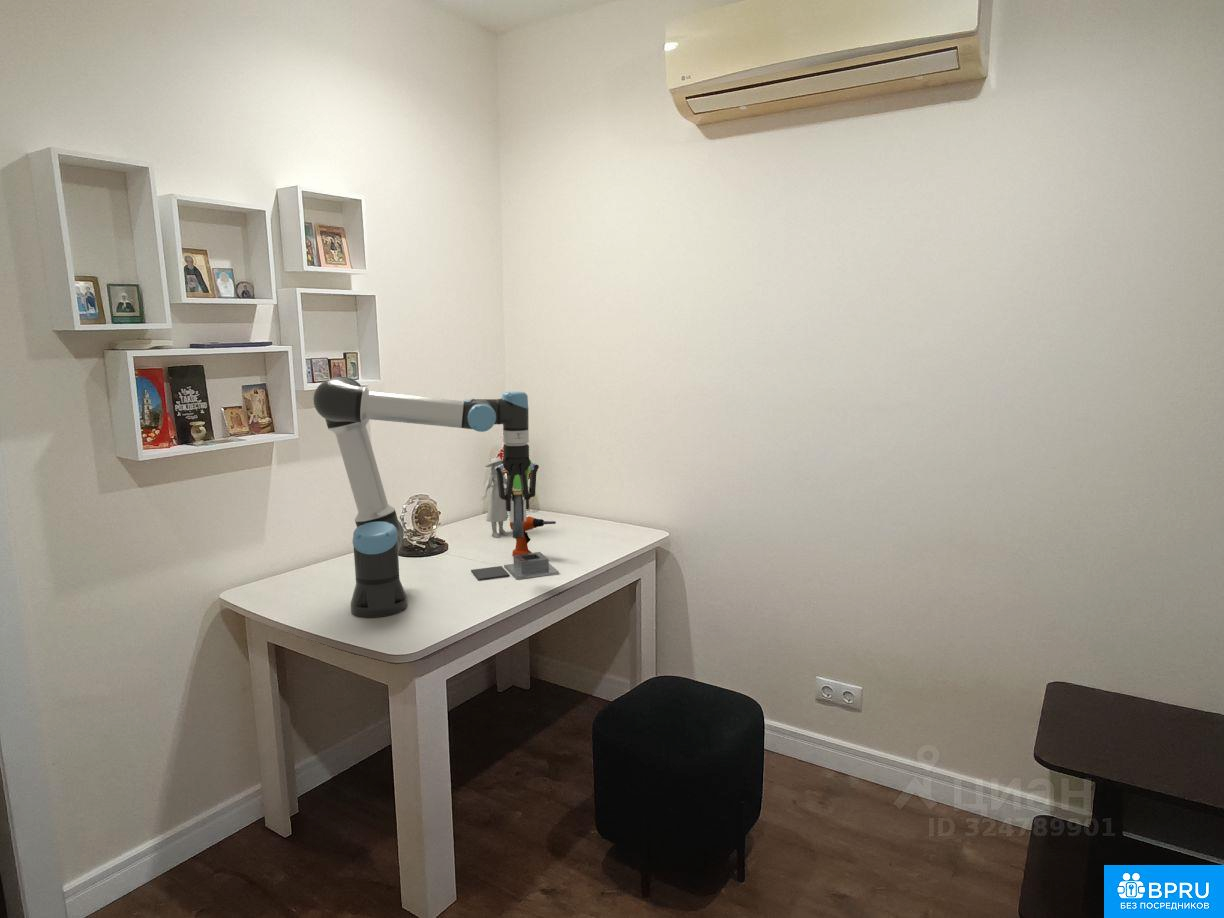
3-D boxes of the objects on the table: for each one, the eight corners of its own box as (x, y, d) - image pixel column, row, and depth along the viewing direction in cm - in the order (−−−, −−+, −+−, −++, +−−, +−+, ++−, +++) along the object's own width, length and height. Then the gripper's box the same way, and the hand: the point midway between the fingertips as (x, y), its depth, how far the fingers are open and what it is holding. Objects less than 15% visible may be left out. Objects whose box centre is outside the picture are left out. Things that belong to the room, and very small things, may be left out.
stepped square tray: (516, 579, 237) (515, 565, 236) (504, 567, 250) (503, 554, 249) (558, 573, 242) (558, 560, 242) (544, 562, 255) (544, 549, 254)
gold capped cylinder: (513, 539, 228) (512, 492, 226) (510, 536, 232) (509, 489, 229) (525, 537, 230) (525, 491, 227) (522, 534, 233) (521, 488, 231)
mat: (478, 580, 236) (478, 578, 236) (471, 571, 245) (471, 569, 245) (509, 576, 240) (509, 574, 240) (501, 567, 249) (501, 565, 249)
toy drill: (556, 559, 253) (550, 515, 251) (510, 559, 261) (504, 516, 260) (563, 555, 257) (558, 512, 255) (518, 555, 266) (512, 513, 264)
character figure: (490, 541, 280) (487, 461, 275) (475, 538, 285) (472, 459, 280) (522, 532, 293) (520, 455, 288) (507, 529, 298) (505, 453, 293)
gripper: (492, 447, 220) (494, 526, 223) (546, 444, 226) (547, 521, 230) (486, 443, 226) (488, 520, 230) (538, 440, 233) (539, 515, 237)
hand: (517, 520), depth 230 cm, fingers closed on gold capped cylinder, 3 cm apart
